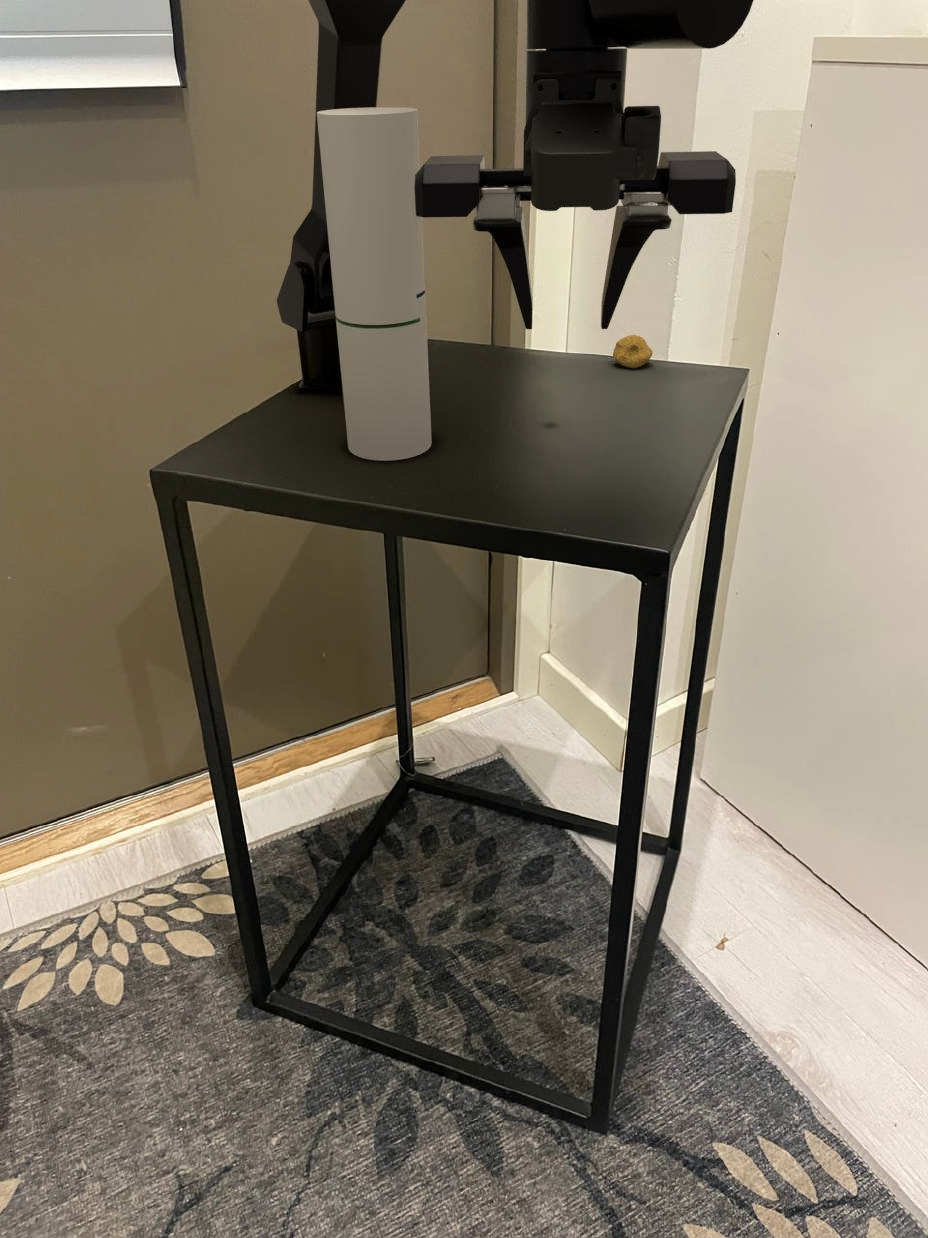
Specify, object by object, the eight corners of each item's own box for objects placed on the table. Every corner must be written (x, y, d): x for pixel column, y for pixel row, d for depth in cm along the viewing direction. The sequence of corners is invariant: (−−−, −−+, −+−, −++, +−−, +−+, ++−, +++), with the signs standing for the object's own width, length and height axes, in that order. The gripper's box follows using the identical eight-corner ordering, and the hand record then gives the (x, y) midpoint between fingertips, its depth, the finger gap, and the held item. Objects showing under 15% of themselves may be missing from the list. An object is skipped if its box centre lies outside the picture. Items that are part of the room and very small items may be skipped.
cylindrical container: (443, 433, 80) (432, 106, 67) (413, 464, 75) (394, 114, 61) (368, 425, 82) (343, 106, 69) (333, 455, 77) (298, 114, 63)
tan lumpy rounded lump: (606, 364, 96) (608, 337, 94) (634, 357, 98) (636, 330, 96) (630, 372, 93) (633, 344, 92) (658, 364, 95) (661, 337, 94)
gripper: (394, 57, 46) (411, 365, 55) (774, 47, 45) (731, 365, 53) (419, 52, 55) (430, 316, 64) (734, 44, 54) (703, 315, 63)
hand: (566, 327), depth 61 cm, fingers open, 5 cm apart
